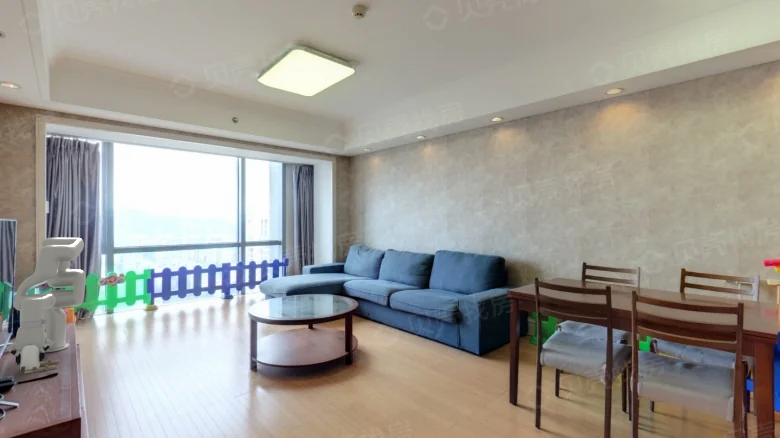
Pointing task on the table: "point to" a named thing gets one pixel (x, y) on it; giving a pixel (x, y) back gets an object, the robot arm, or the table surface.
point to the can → (30, 357)
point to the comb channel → (40, 368)
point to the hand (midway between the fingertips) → (30, 361)
